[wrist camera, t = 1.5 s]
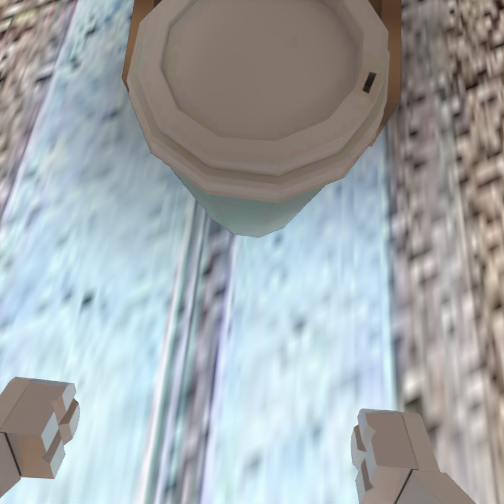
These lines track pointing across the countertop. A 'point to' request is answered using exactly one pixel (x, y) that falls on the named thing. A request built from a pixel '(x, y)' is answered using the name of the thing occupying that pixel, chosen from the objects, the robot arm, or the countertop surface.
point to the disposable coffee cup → (259, 100)
